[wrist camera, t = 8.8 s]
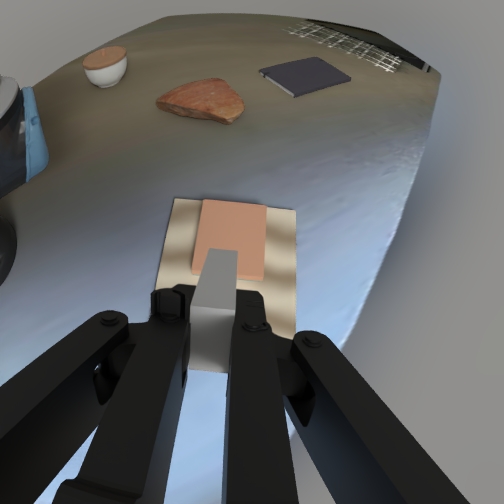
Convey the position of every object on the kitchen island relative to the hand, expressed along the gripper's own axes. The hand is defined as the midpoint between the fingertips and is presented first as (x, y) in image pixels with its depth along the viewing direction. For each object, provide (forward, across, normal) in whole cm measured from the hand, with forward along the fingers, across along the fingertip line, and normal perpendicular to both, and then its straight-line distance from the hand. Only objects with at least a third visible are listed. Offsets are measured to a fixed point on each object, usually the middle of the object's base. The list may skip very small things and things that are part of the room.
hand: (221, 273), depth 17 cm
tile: (+25, 0, -5) cm, 26 cm away
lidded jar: (+57, -34, +23) cm, 70 cm away
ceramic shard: (+48, -8, +14) cm, 51 cm away
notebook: (+63, +14, +29) cm, 71 cm away
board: (+24, 0, -9) cm, 26 cm away
